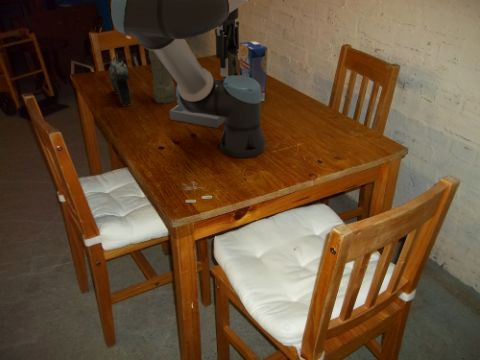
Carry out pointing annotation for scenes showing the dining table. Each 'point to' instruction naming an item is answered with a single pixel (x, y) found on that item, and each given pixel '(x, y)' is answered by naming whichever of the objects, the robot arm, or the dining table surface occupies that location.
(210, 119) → the box
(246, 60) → the beverage box
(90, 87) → the dining table surface
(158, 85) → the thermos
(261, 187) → the dining table surface
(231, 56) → the mug
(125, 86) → the ceramic cat
